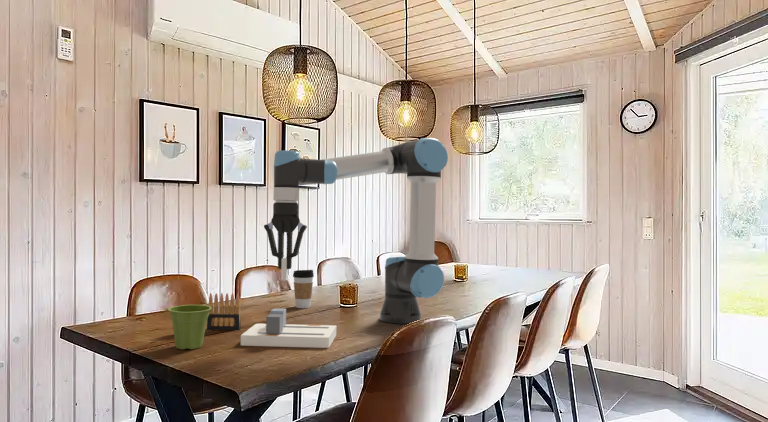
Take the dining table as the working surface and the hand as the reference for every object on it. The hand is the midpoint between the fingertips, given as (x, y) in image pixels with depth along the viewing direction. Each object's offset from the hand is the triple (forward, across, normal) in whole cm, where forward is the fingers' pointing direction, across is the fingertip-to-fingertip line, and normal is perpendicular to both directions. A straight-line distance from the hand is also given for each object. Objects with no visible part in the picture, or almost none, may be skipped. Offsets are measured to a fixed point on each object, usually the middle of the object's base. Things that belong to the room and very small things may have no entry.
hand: (284, 279), depth 165 cm
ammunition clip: (+19, +23, -15) cm, 33 cm away
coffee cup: (+19, +3, -56) cm, 59 cm away
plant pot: (+19, +26, +8) cm, 33 cm away
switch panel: (+19, -2, -2) cm, 19 cm away
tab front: (+15, +2, +3) cm, 16 cm away
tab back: (+15, +3, -6) cm, 17 cm away
